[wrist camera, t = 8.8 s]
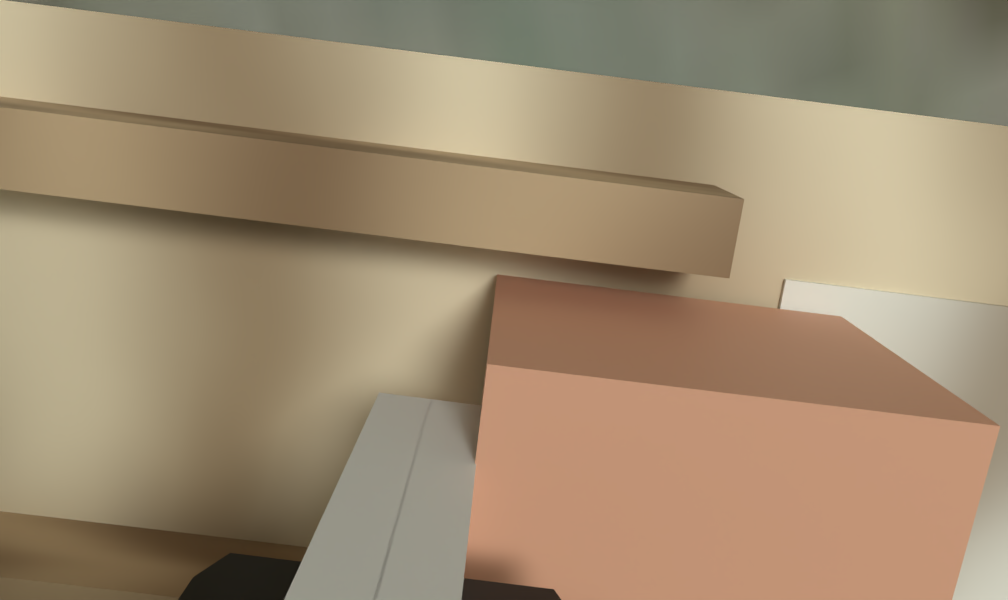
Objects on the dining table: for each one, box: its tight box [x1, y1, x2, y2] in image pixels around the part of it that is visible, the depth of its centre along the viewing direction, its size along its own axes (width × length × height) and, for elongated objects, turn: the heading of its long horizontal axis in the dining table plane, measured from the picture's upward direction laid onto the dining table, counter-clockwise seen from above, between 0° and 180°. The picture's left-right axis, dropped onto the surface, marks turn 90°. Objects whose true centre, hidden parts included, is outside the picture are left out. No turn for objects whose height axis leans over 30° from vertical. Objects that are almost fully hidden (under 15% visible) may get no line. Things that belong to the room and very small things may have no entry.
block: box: [464, 274, 1000, 600], centre depth 13 cm, size 6×5×5 cm
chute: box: [0, 0, 1008, 600], centre depth 15 cm, size 24×12×3 cm, turn 83°
